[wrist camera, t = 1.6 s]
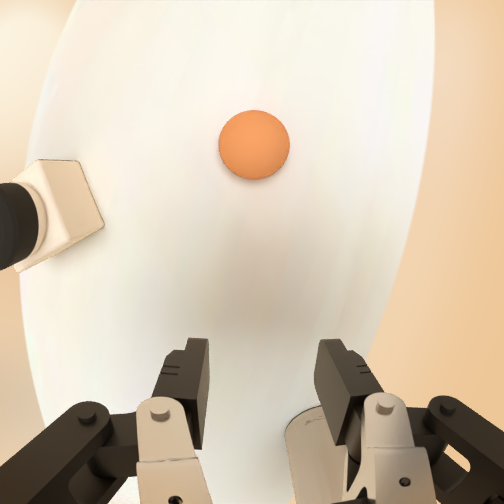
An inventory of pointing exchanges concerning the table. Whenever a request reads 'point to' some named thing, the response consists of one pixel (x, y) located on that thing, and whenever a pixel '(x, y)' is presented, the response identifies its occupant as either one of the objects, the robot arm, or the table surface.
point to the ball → (254, 144)
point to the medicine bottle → (44, 213)
